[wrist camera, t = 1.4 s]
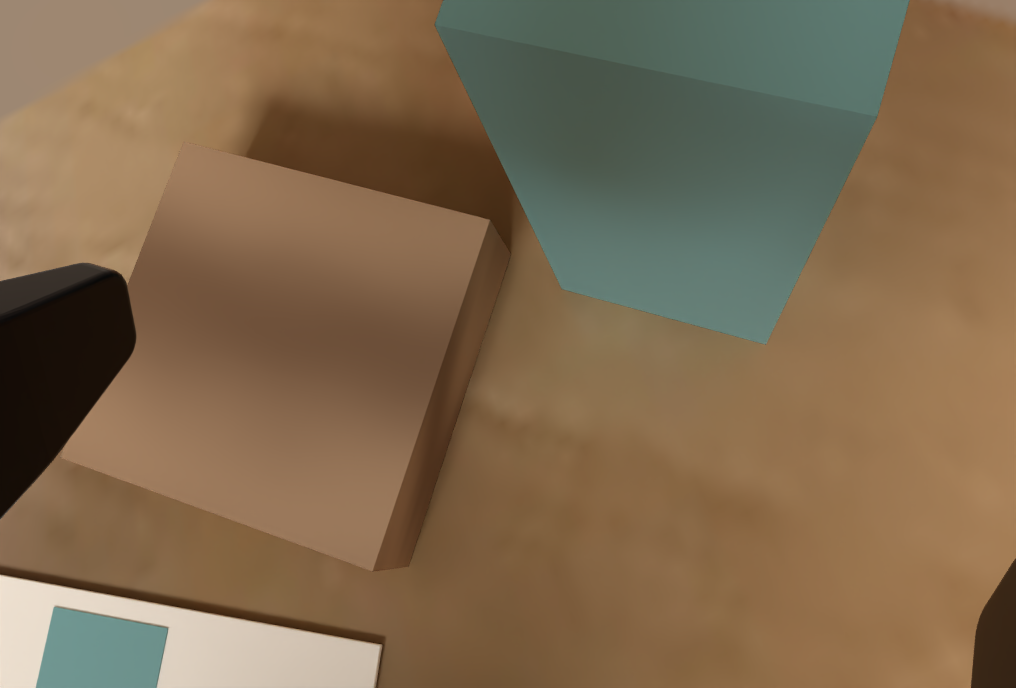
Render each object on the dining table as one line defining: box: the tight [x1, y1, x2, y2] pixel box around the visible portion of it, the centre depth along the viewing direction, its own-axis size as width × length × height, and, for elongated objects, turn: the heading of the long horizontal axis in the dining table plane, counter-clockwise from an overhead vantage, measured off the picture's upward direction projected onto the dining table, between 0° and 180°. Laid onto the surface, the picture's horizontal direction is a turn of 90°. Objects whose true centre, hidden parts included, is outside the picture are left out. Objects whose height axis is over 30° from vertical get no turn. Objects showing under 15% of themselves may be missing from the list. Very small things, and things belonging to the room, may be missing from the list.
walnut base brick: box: [60, 142, 511, 572], centre depth 22 cm, size 8×8×3 cm
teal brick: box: [435, 0, 910, 345], centre depth 16 cm, size 5×5×12 cm
